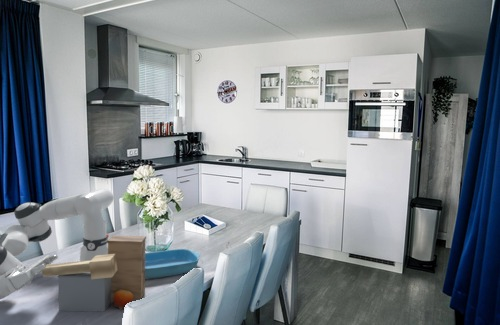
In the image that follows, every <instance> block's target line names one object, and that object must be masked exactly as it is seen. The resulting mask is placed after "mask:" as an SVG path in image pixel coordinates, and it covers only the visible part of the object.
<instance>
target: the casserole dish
mask: <svg viewBox="0 0 500 325" xmlns="http://www.w3.org/2000/svg"><path fill="white" fill-rule="evenodd" d="M200 256H201V254H200V253H199V252H197V251H195V250H191V249H188V248H177V249H176V248H175V249H166V250H159V251H158V250H157V251H151V252H145V280H149V279H158V278H165V277H171V276H177V275H184V274H188V273H187V272H189V271H190V270H192V269H193V268H195V267H197V266H198V264H199V263H198V262H199V260H200ZM195 269H196V268H195ZM183 273H184V274H183ZM189 273H190V272H189Z"/></svg>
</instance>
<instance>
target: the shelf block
mask: <svg viewBox="0 0 500 325" xmlns="http://www.w3.org/2000/svg"><path fill="white" fill-rule="evenodd" d="M146 240H147V236H146V235H115V234H114V235H112V236H111V237H110V238H108V241H107V243H108V254H116V262H117V271H116V273H115V274H114V275H113V277H111V300H113V297H114V294H115V292H116V291H119V290H126V291H130V292H131V293H132V294H133V296H134V297H133V300H132V301H134V300H135V301H138V300H137V299H141V298H142V299H143V297H144V295H145V293H146V279H145V253H146ZM142 299H141V300H142Z"/></svg>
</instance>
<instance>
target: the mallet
mask: <svg viewBox="0 0 500 325" xmlns="http://www.w3.org/2000/svg"><path fill="white" fill-rule="evenodd" d="M77 261H78V260H77ZM77 261H70V262H62V263H60V262H59V263H51V264H48V265H46V267H45V268H44V269H42V271H41V274H42V278H45V277H46V278H47V277H55V276H57V277H58V275H67V274H76V273H86V272H90V273H91V279H100V278H110V277H113V275H114V274H115V273H116V271H117V262H116V254H108V255H98V256H95V257H94V258H93V259H92V260H88V261H78V262H77Z"/></svg>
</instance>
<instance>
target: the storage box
mask: <svg viewBox="0 0 500 325" xmlns="http://www.w3.org/2000/svg"><path fill="white" fill-rule="evenodd" d="M57 279H58V280H57V281H58V283H57V284H58V311H59V312H66V311H67V312H105V311H106V310H107V308H108V307H109V305H110V304H111V303H112V299H111V277H110V278H100V279H91V273H90V272H86V273H76V274H67V275H57Z"/></svg>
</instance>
